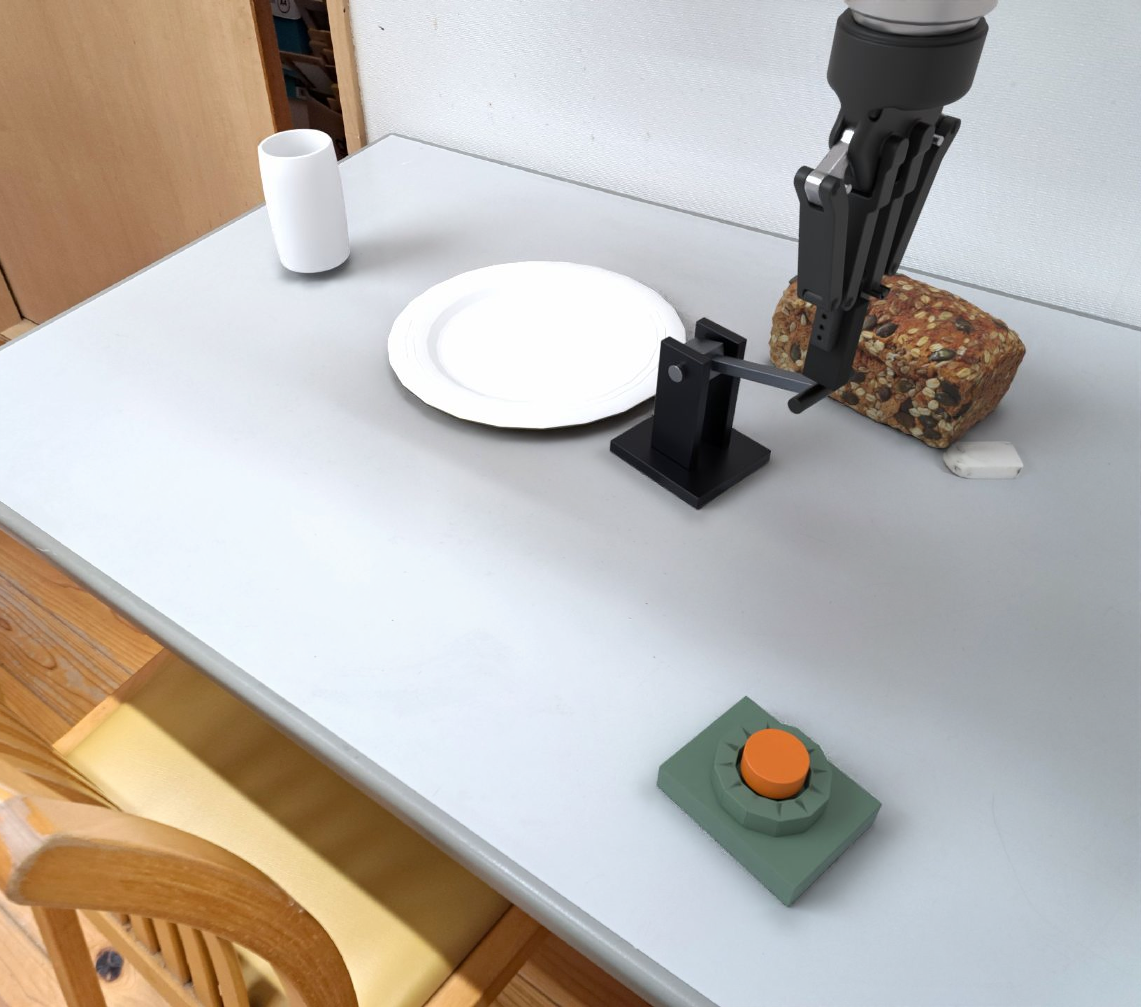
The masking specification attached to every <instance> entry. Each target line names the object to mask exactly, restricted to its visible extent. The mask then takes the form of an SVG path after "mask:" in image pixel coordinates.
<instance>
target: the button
mask: <svg viewBox="0 0 1141 1007" xmlns="http://www.w3.org/2000/svg"><path fill="white" fill-rule="evenodd" d="M809 766H810V758H809V754H808V752H807V750H806V748H805V746H804V745H803V743H802V742H801V741H800V740H799V739H797V738H796V737H795V736H793V735H792V734H790V733H788V732H785V731H782V730H778V729H764V730H760V731H758V732H756V733H754V734H753V735H752V736H751V737H750V738H749V739H748V740H747V742H746V744H745V748H744V752H743V756H742V760H741V773H742V776H743V778H744V780H745V781H746V783H747V784H748V785H749V786H750V787H751V788H752V789H753V790H754V791H755V792H757V793H758V794H760V795H762V796H765V797H768V798H772V799H784V798H788V797H791V796H793V795H795V794H796V793H797V792H799V790H800V789H801V788H802V786H803V784H804V781H805V778H806V775H807V772H808V769H809Z"/></svg>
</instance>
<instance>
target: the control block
mask: <svg viewBox="0 0 1141 1007" xmlns="http://www.w3.org/2000/svg"><path fill="white" fill-rule="evenodd" d="M764 729H778V730H782V731H785V732H788V733H790V734H792V735H793V736H795V737H796V738H797V739H799V740H800V741H801V742H802V743H803V745H804V746H805V748H806V750H807V752H808V754H809V758H810V766H809V769H808V772H807V775H806V778H805V781H804V784H803V786H802V788H801V789H800V790H799V792H797V793H796V794H795V795H793V796H791V797H788V798H784V799H772V798H768V797H765V796H762V795H760V794H758V793H757V792H755V791H754V790H753V789H752V788H751V787H750V786H749V785H748V784H747V783H746V781H745V780H744V778H743V776H742V773H741V760H742V756H743V752H744V748H745V744H746V742H747V740H748V739H749V738H750V737H751V736H752V735H753V734H754V733H756V732H758V731H760V730H764ZM656 786H657V787H658V788H659V789H660V790H661V791H662V792H663V793H664V794H665V795H666V796H668V797H669V798H670V799H671V800H672V801H673V802H674V803H675V804H676V805H677V806H678V807H679V808H681V810H682V811H683V812H685V813H686V815H688V816H689V817H690V818H691V819H692V820H693V821H694V822H695V823H697V824H698V825H699V827H701V829H703V830H704V831H705V832H706V833H707V834H708V835H709V836H710V837H711V838H713V839H714V841H715V842H717V843H718V844H719V845H720V846H721V847H722V848H723V849H724V850H725V851H727V853H728V854H730V855H731V856H732V857H733V858H734V859H735V860H736V861H737V862H738V863H740V865H741V866H743V868H745V869H746V871H748V872H749V873H750V874H751V875H752V876H753V877H754V878H755V879H757V880H758V882H760V884H761V885H763V886H764V887H765V888H766V889H767V890H769V891H770V893H771V894H773V895H774V897H776V898H777V899H778V900H779V901H780V902H781V903H782V904H783V905H784V906H786V907H787V908H789V907H790V906H791V905H792V904H793V903H794V902H795V901H796V900H798V898H799V897H800V896H801V895H802V894H804V892H805V891H807V889H808V888H809V887H810V886H812V884H813V883H814V882H815V881H816V880H818V879H819V877H821V875H822V874H823V873H824V872H826V870H827V869H828V868H829V867H830V866H831V865H832V864H834V863H835V862H836V860H838V859H839V858H840V857H841V855H843V854H844V853H845V852H846V851H847V850H848V849H849V848H850V847H851V846H852V845H853V844H854V843H855V842H856V841H857V840H858V839H859V838H860V837H861V836H862V835H863V834H864V833H865V832H866V831H867V830H868V829H869V828H870V827H871V826H872V825H873V824H875V821H876V819H877V816H878V814H879V812H880V810H881V808H882V805H883V803H882V802H881V801H880V800H879V799H877V797H875V796H873V795H872V794H871V793H870V792H869V791H867V790H866V789H864V788H863V787H862V786H861V785H860V784H859V783H857V782H855V780H853V779H852V778H851V777H849V776H848V775H847V774H846V773H845V772H843V771H842V770H841V769H839V767H837V766H836V765H834V764H833V763H832V762H830V761H829V760H828V759H827V757H826V755H825V753H824V751H823V749H822V747H821V746H820V744H818V743H817V742H815V740H813V739H812V738H810V737H809V735H806V734H805V733H804V732H803V731H801V730H800V729H799V728H797V727H795V726H793V725H789V724H785V723H782V722H780V721H779V720H778V719H776V717H774V716H773V715H771V714H770V713H769V712H767V710H766V709H764V708H763V707H762V706H760V705H759V704H758V703H756V702H755V701H754V700H753V699H752V698H750V697H749V696H748V695H745V696H743V697H742V698H741V699H739V700H738V701H737V702H736V703H735V704H734V705H733V706H731V707H730V708H729V709H728V710H726V711H725V712H724V713H722V714H721V715H720V716H718V718H716V719H715V720H714V721H713V722H711V724H709V725H708V726H707V727H706V728H704V729H703V730H702V731H700V732H699V733H698V734H697V735H696V736H694V737H693V738H692V739H691V740H689V741H688V742H687V743H686V744H684V745H683V746H682V747H681V748H680V749H679V750H677V751H676V752H675V753H674V754H672V755H671V756H670V757H668V758H667V759H666V760H665V761H663V763H662V764H660V765H659V767H658V773H657V779H656Z"/></svg>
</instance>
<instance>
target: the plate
mask: <svg viewBox="0 0 1141 1007" xmlns="http://www.w3.org/2000/svg"><path fill="white" fill-rule="evenodd" d="M668 336H670V337H672V338H674V339H676V340H678V341H679V342H681V343H683V344H684V343H686V342H687V338H686V328H685V326H684V324H683V322H682V320H681V318H680V316H679V315H678V313H677V311H676V309H675V307H673V306H672V305H671V304H670V303H669V302H668V301H667V300H665V299H664V298H663V297H662V296H661V295H660V294H659V293H658V292H657V291H656V290H654V289H652V288H651V287H648V286H647V285H644V284H643V283H641V282H639V281H637V280H636V279H634V278H633V277H630V276H628V275H624V274H621V273H619V272H615V271H612V270H609V269H605V268H602V267H599V266H595V265H588V264H582V263H581V264H580V263H575V262H570V261H569V262H568V261H553V260H552V261H550V260H549V261H548V260H527V261H517V262H509V263H508V262H507V263H500V264H492V265H489V266H485V267H481V268H478V269H473V270H469V271H466V272H461V273H460V274H458V275H455V276H453V277H450V278H449V279H446V280H444V281H441V282H440V283H437V284H434V285H432V286H431V287H430V288H428V289H427V290H425V291H424V292H423V293H421V294H420V295H418V296H417V297H416V298H414V299H412V300H411V301H410V302H409V303H408V304H407V306H406V307H405V308H404V309H403V310H402V311H401V312H400V314H399V315H398V316H397V317H396V318H395V319H394V322H393V325H392V327H391V330H390V333H389V336H388V338H387V350H388V361H389V365H390V367H391V369H392V370H393V373H394V374H395V376H396V377H397V378H398V380H399V382H400V383H401V385H402V387H404V389H406V390H407V391H408V392H410V393H411V394H412V395H414V396H415V397H416V398H417V399H419V401H421V402H422V403H424V404H425V405H426V406H428V407H430V408H433V409H436V410H438V411H440V412H442V413H444V414H447V415H449V416H451V417H454V418H456V419H458V420H461V421H465V422H471V423H474V424H480V425H484V426H488V427H493V428H498V429H514V430H515V429H516V430H536V431H546V430H552V429H561V428H562V429H563V428H570V427H577V426H586V425H589V424H594V423H596V422H599V421H602V420H606V419H609V418H611V417H616V416H619V415H623V414H625V413H627V412H629V411H630V410H632V409H634V408H636V407H637V406H640V405H641V404H643V403H645V402H647V401H648V400H650V399H652V398H653V397H655V396H656V386H657V376H658V365H659V355H660V344H661V340H663V339H665V338H667V337H668Z"/></svg>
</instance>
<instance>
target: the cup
mask: <svg viewBox="0 0 1141 1007" xmlns="http://www.w3.org/2000/svg"><path fill="white" fill-rule="evenodd" d="M257 154H258V162H259V171H260V177H261V184H262V190H263V195H264V199H265V200H264V201H265V204H266V209H267V214H268V218H269V221H270V222H269V223H270V226H271V230H272V234H273V238H274V242H275V246H276V249H277V252H278V257H279V259H280V263H281V264H282V266H283V267H284V268H286V269H287V270H289V271H292V272H295V273H301V274H314V273H321V272H326V271H329V270H332V269H334V268H336V267H339V266H340V265H342V264H344V262H346V260H347V259H348V258H349V257H350V254H351V252H350V251H351V250H350V238H349V237H350V236H349V228H348V227H349V226H348V218H347V211H346V202H345V196H344V188H343V183H342V177H341V173H340V168H339V163H338V158H337V155H336V151H335V147H334V142H333V139H332V137H331V136H330V135H329V134H328V133H325V132H324V131H321V130H319V129H311V128H310V129H309V128H299V129H298V128H296V129H288V130H284V131H280V132H277V133H274V134H271V135H270V136H268V137H266V138H264V139H263V140H262V141H261V142H260V144H259V145H258V146H257Z"/></svg>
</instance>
